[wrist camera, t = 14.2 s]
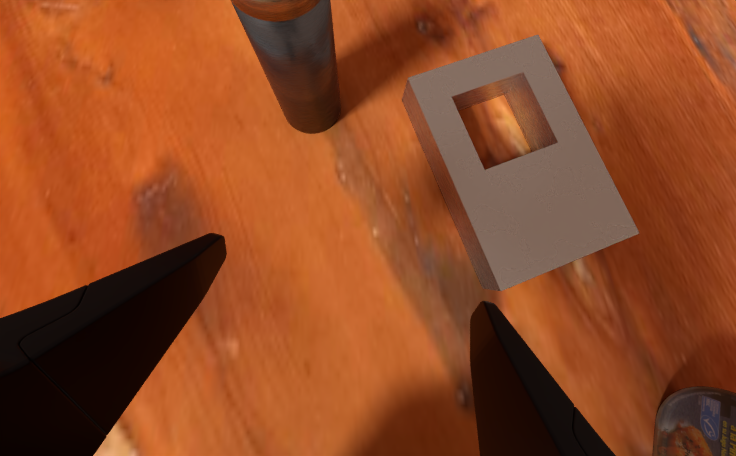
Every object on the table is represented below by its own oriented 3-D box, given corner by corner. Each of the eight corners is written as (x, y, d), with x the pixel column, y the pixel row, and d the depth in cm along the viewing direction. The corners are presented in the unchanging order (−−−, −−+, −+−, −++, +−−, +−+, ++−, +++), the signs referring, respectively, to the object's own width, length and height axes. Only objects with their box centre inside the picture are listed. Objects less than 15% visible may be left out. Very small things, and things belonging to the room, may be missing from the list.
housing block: (482, 288, 23) (500, 291, 20) (401, 100, 26) (407, 78, 23) (605, 237, 24) (639, 233, 22) (517, 60, 27) (538, 34, 24)
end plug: (294, 142, 25) (225, 3, 12) (274, 90, 25) (190, -95, 12) (349, 123, 25) (342, -31, 12) (329, 72, 26) (302, -124, 13)
